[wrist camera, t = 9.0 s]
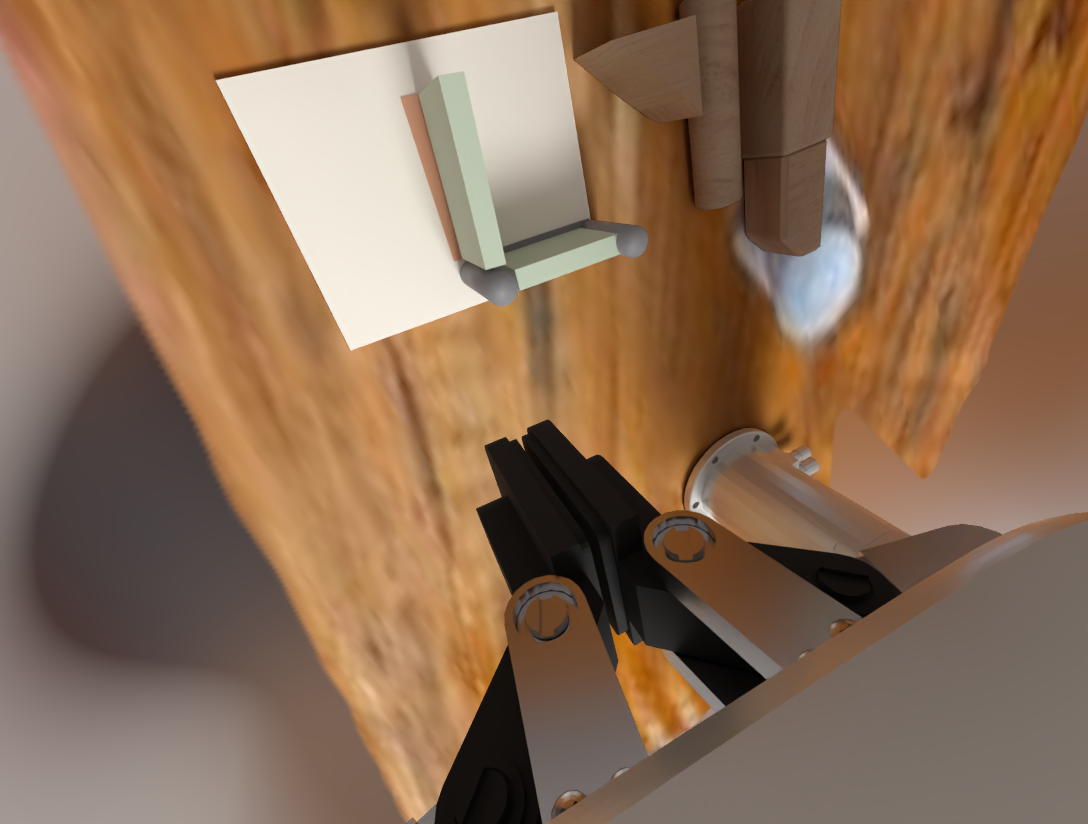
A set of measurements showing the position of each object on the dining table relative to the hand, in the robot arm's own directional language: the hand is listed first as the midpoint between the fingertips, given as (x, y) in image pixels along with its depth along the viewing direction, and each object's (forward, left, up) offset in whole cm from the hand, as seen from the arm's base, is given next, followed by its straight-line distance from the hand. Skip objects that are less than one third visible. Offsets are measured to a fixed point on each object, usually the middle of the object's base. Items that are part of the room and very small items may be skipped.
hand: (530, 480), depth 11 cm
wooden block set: (-23, -3, -22) cm, 32 cm away
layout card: (-5, -5, -21) cm, 22 cm away
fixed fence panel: (-9, 0, -21) cm, 23 cm away
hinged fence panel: (-5, -6, -20) cm, 22 cm away
